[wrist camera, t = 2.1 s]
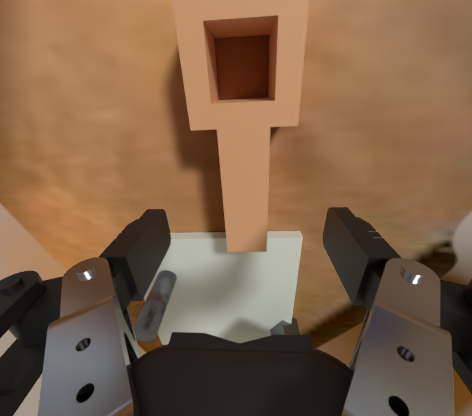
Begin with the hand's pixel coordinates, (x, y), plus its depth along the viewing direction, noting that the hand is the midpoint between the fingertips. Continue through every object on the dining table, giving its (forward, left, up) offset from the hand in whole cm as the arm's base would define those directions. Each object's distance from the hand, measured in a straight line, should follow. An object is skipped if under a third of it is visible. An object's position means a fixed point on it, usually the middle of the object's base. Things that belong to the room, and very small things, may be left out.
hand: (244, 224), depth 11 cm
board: (+15, -3, -8) cm, 17 cm away
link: (-2, 0, -8) cm, 8 cm away
